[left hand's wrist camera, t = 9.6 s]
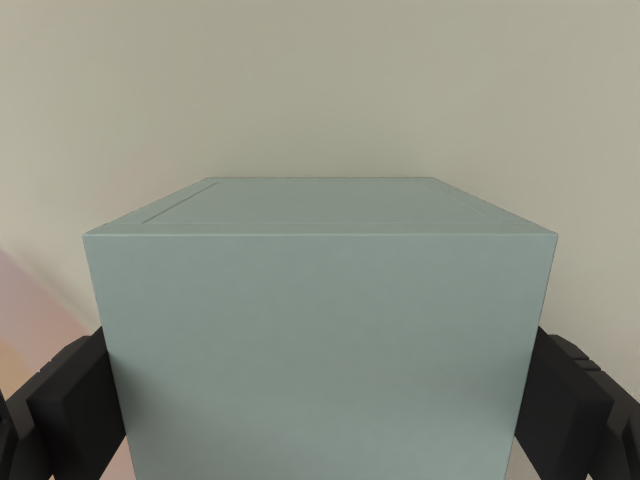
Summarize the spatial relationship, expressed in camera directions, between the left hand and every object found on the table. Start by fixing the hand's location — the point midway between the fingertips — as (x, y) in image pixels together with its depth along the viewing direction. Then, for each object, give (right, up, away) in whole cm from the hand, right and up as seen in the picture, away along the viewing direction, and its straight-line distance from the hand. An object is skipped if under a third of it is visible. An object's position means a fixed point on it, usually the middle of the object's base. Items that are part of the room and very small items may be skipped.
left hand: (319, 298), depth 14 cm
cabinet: (0, -5, +6) cm, 7 cm away
